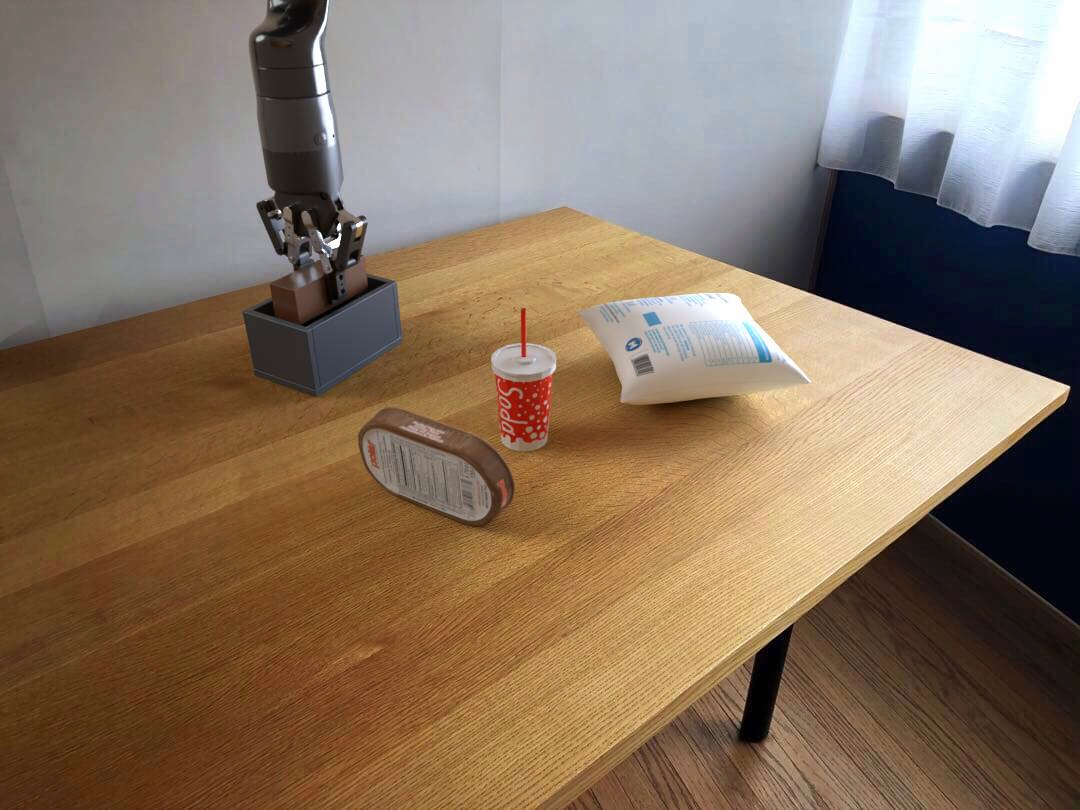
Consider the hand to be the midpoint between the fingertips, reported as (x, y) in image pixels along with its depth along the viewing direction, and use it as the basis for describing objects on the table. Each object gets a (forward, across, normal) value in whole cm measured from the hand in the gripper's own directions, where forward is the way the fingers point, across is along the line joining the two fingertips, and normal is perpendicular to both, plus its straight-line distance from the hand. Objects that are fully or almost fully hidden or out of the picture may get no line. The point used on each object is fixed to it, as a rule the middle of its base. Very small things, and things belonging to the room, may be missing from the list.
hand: (322, 296), depth 94 cm
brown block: (+1, 0, 0) cm, 1 cm away
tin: (+8, -26, +16) cm, 31 cm away
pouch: (+8, -36, -17) cm, 41 cm away
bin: (+8, 0, 0) cm, 8 cm away
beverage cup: (+8, -28, +3) cm, 29 cm away
